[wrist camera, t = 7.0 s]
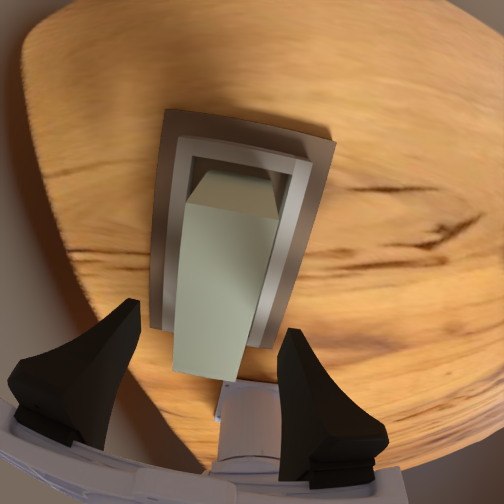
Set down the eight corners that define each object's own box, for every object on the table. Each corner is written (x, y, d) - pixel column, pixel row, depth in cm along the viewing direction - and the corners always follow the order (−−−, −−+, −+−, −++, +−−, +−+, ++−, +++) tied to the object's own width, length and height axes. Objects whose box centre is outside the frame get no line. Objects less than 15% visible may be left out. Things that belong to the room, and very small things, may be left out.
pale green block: (239, 313, 24) (235, 382, 18) (190, 304, 23) (172, 370, 17) (271, 180, 19) (278, 220, 13) (209, 168, 18) (185, 202, 12)
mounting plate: (271, 341, 27) (272, 361, 24) (152, 320, 26) (145, 338, 23) (332, 140, 18) (343, 145, 16) (169, 108, 17) (158, 109, 15)
